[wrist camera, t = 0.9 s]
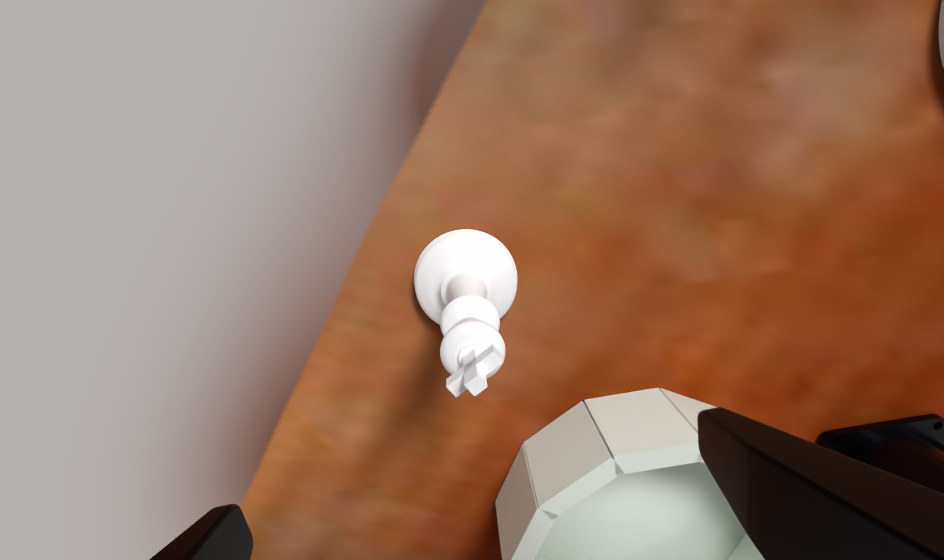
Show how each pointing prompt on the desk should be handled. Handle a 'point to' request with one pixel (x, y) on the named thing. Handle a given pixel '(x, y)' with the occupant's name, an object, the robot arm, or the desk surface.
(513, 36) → the desk surface
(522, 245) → the desk surface
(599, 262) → the desk surface
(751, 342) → the desk surface
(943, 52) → the record player
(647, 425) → the bowl
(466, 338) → the chess piece
